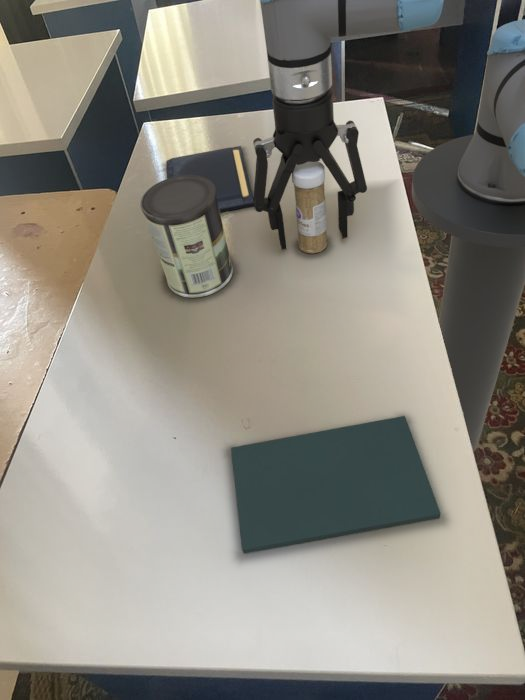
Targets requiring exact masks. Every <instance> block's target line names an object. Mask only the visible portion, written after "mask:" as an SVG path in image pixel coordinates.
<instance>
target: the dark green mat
mask: <svg viewBox="0 0 525 700" xmlns="http://www.w3.org/2000/svg"><path fill="white" fill-rule="evenodd" d="M230 451H231V459H232V469H233V479H234V487H235V496H236V507H237V514H238V523H239V524H238V525H239V532H240V534H239V535H240V542H241V549H242V553H243V554H247V553H248V554H249V553H254V552H260V551H264V550H269V549H275V548H282V547H287V546H292V545H298V544H302V543H309V542H314V541H315V542H316V541H321V540H326V539H330V538H336V537H341V536H348V535H352V534H358V533H364V532H369V531H374V530H381V529H386V528H392V527H397V526H402V525H403V526H404V525H409V524H414V523H418V522H419V523H420V522H424V521H430V520H435V519H440V518H441V515H442V514H441V511H440V508H439V505H438V503H437V500H436V497H435V494H434V491H433V489H432V486H431V483H430V480H429V478H428V476H427V475H428V474H427V472H426V470H425V466H424V464H423V462H422V458H421V456H420V453H419V451H418V448H417V445H416V443H415V440H414V437H413V434H412V432H411V429H410V426H409V423H408V421H407V418H406V416H405V415H402V416H397V417H390V418H386V419H385V418H384V419H380V420H375V421H369V422H364V423H358V424H353V425H347V426H342V427H341V426H340V427H337V428H330V429H325V430H320V431H315V432H308V433H304V434H298V435H292V436H288V437H282V438H277V439H271V440H265V441H260V442H254V443H249V444H248V443H247V444H243V445H238V446H233V447H231V448H230Z"/></svg>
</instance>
